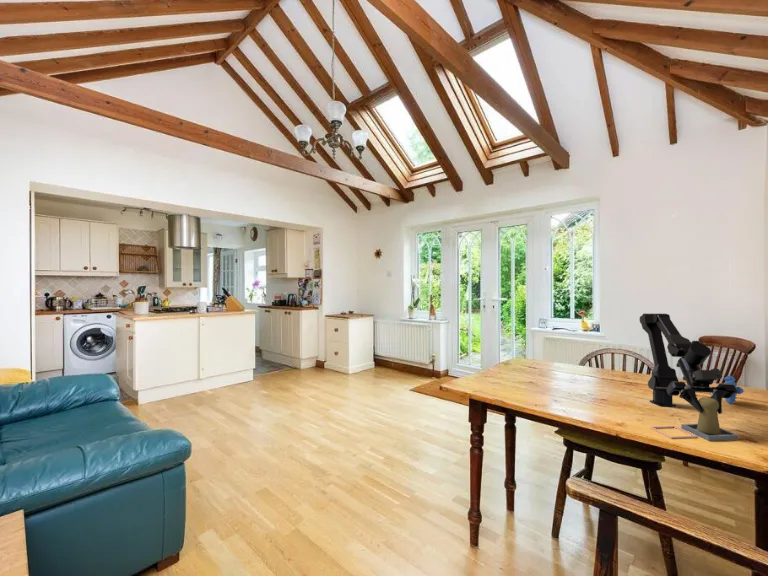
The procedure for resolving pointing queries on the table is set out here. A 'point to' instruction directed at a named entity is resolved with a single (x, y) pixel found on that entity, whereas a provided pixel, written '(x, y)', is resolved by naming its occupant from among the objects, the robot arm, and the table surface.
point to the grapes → (731, 381)
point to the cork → (708, 416)
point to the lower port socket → (710, 437)
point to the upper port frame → (673, 436)
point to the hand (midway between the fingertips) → (711, 412)
